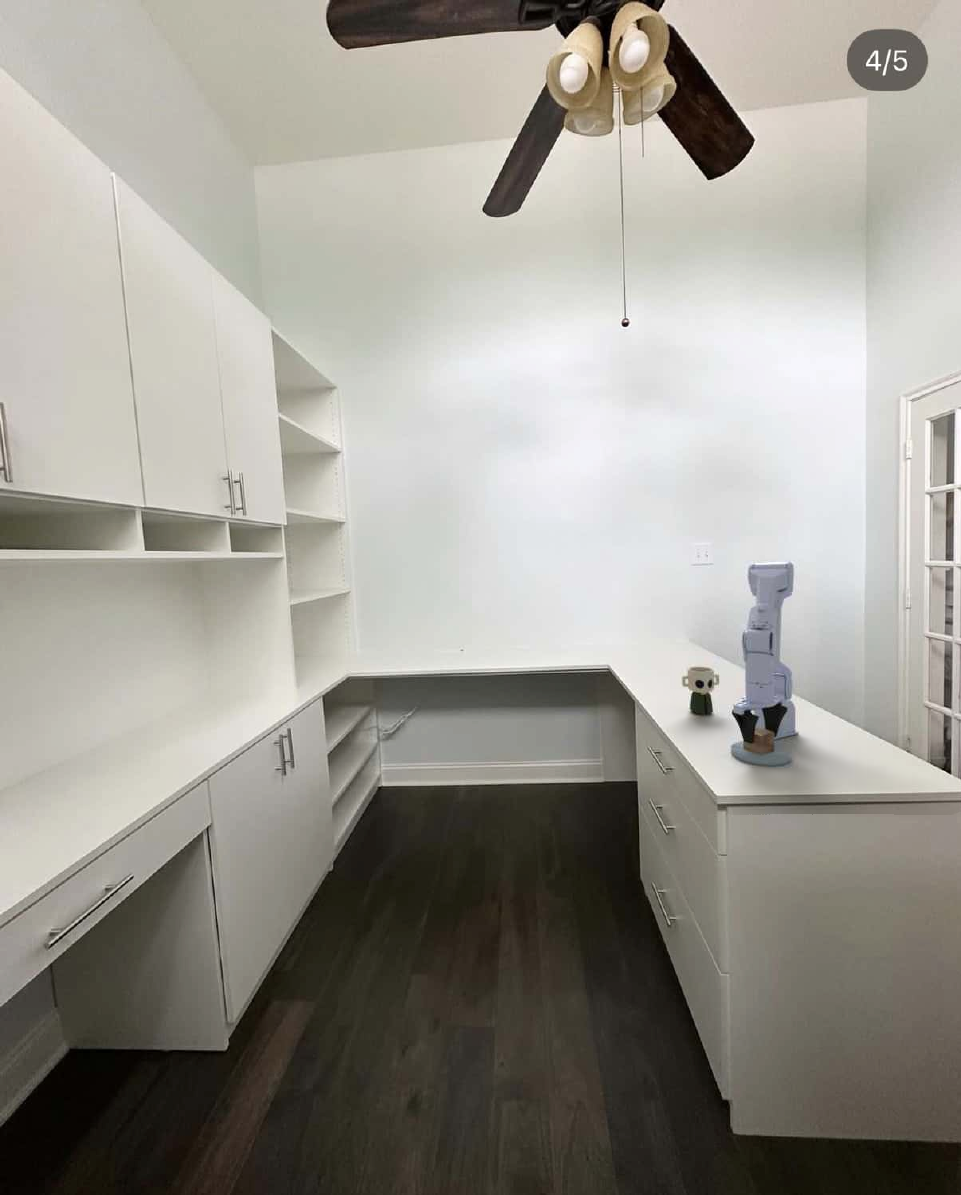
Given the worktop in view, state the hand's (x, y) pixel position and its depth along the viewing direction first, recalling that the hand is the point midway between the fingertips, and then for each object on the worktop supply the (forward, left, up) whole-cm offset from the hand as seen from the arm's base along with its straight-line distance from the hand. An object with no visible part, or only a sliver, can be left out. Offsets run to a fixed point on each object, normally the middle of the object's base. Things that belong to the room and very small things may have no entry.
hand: (759, 739), depth 115 cm
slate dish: (0, 0, -4) cm, 4 cm away
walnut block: (0, 0, -3) cm, 3 cm away
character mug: (-12, -30, -4) cm, 33 cm away
